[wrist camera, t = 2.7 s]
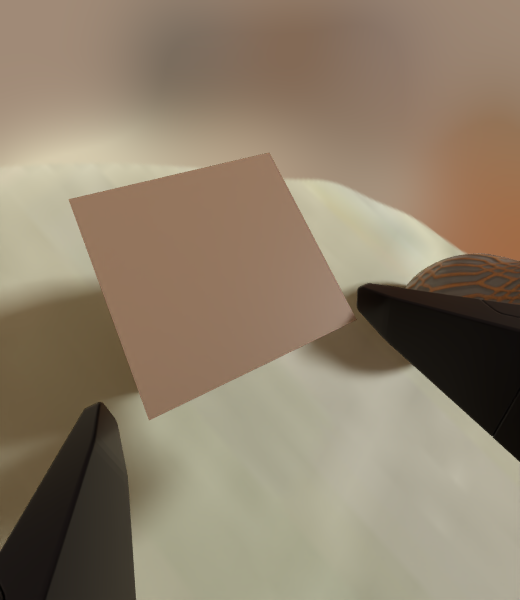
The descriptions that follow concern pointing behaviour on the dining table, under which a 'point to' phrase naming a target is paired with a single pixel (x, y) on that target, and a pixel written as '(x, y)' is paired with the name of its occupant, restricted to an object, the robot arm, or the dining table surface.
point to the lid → (207, 276)
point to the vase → (472, 278)
